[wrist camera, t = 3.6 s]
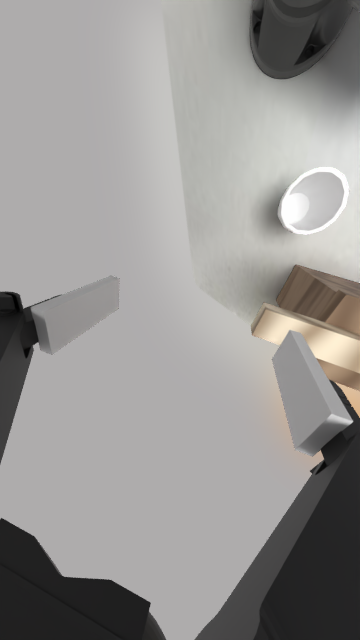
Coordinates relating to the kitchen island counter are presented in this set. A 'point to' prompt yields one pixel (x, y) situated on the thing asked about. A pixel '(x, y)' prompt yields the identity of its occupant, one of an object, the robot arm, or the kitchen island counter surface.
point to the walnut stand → (325, 309)
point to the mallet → (309, 335)
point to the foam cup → (313, 200)
